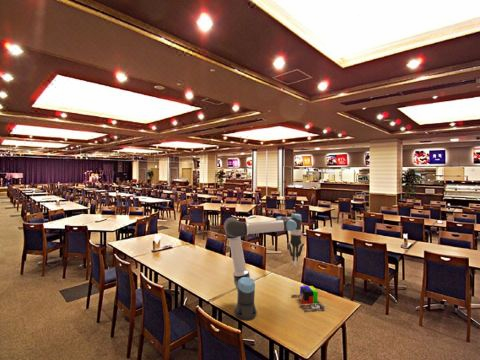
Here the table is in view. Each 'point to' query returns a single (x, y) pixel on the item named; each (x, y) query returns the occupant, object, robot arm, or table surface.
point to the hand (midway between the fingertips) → (294, 265)
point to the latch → (315, 307)
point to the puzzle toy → (308, 294)
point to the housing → (309, 305)
